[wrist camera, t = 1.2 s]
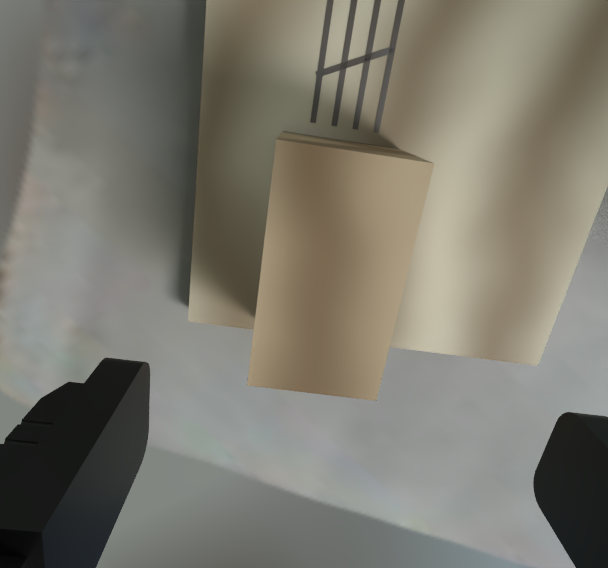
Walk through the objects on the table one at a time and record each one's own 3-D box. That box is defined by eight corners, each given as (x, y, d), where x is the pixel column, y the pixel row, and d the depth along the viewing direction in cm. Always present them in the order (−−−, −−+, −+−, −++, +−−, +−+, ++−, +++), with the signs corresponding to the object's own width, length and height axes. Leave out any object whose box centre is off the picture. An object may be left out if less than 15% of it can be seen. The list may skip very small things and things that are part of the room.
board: (735, -204, 16) (768, -228, 15) (527, 353, 24) (538, 365, 23) (231, -310, 15) (226, -344, 14) (193, 311, 23) (187, 321, 22)
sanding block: (398, 148, 19) (434, 163, 14) (359, 333, 22) (376, 400, 17) (282, 130, 19) (276, 139, 14) (259, 321, 22) (247, 385, 17)
